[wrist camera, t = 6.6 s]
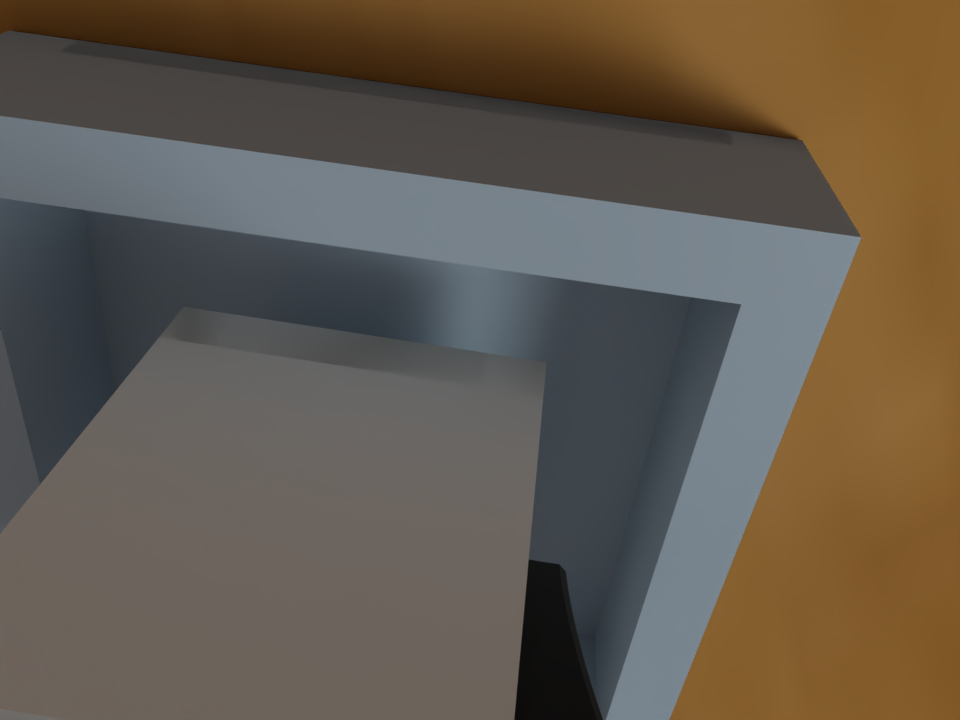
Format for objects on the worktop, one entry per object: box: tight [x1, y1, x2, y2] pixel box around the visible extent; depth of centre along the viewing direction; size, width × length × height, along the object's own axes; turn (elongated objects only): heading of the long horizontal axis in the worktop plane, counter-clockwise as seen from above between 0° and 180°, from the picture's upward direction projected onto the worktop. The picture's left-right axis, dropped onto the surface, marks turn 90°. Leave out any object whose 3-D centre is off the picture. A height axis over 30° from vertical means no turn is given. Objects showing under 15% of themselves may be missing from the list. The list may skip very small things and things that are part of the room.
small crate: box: [0, 307, 546, 720], centre depth 10 cm, size 5×5×6 cm
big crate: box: [0, 31, 861, 720], centre depth 14 cm, size 11×11×3 cm
